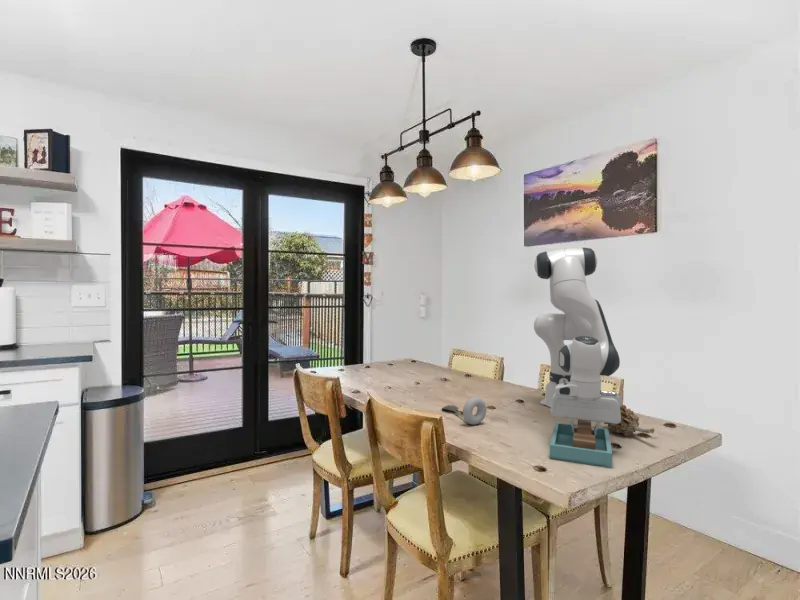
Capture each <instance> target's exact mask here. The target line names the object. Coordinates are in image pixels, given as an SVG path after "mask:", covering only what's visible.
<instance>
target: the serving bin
mask: <svg viewBox="0 0 800 600" xmlns="http://www.w3.org/2000/svg"><path fill="white" fill-rule="evenodd" d="M574 425H575V426H577V424H574ZM591 428H595V426H591ZM573 434H574V433H572V426H571V425H570V423H565V422H558V421H555V422H554V426H553V431H552V435H551V437H550V438H551V439H550V443H549V459H550V460H557V461H563V462H569V463H577V464H584V465H591V466H595V467H596V466H597V467H602V466H604V467H603V468H609V467H612V468H613V450H612V444H611V438H610V431H609V428H608V427H607V428H606V427H599V428H598V429H597V430H596V436H595V435H594V436H595V450H592V449H585V448H578V447H573Z"/></svg>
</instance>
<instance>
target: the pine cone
mask: <svg viewBox="0 0 800 600" xmlns="http://www.w3.org/2000/svg"><path fill="white" fill-rule="evenodd" d="M620 413H621V421H620V422H619V423H618V424H615V423H606V422H603V424H604V425H607V429H609V430H611V431H613V430H614V433H618V434H622V435H623V436H626V437H629V436H630V435H633V434H634V433H635V432H639V433H645V434H654V432H655V431H656V430H655V428H654V427H651V428H642V427H639V425H640V422H639V421H640V418H639V416H638V415H637V414H635V411H633V410H631V408H627V406H626V405H625V404H623V403H622V406H621V407H620Z"/></svg>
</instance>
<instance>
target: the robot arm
mask: <svg viewBox="0 0 800 600" xmlns="http://www.w3.org/2000/svg"><path fill="white" fill-rule="evenodd" d="M597 267H598V258H597V254H596V253H595V251H594V250H593V249H592V248H590V247H582V248H579V247H578V248H577V247H576V248H575V247H572V248H571V247H570V248H564V249H562V248H561V249H556V250H550V251H543V252H540V253H538V254H537V255H536V257H535V260H534V267H533V268H534V270H535V273H536V274H537V277H539V278H540V279H542V280H549V295H550V297H549V298H550V304H552V306H553V307H554V308H555V309H558V310H559V311H561V312H562V313H551V312H550V313H544V314H543V313H542V314H539V315H538V316H537V317H536V318H535V320H534V322H533V330H534V333H535V334H536V335H537V337H539V338H540V339H541V340H542V341H543V342H544V343H545V345H546V346H547V349H548V350H549V357H550V371H549V375H548V376H549V382H548V383H547V384H545V390H544V391H545V393H544V394H545V395H544V398H543V399H542V400H540V402H539V404H540V405H543V406H546V407H549V408H550V409H549V410H550V415H551V416H552V417H554V418H555V417H557V418H563V419H564V418H565V419H568V424H570V425H571V426H572V433H577V426H575V425H576V424H575V423H574V421H575V420H578V419H580V420H589V421H591V422H595V423H594V424H595V426H594V427H595V428H592V429H591V435H595V436H596V430H597V429H598V428H601V423H604V422H606V423H615V424H618V423H619V422H620V421H621V413H620V407H621V406H622V404H623V397H622V396H621V394H619V393H618V392H616V391H606V390H605V391H604V390H602V379H601V376H603V377H605V376H606V377H610V376H612V375H614V373H615V372H616V371H618V369H619V368H620V364H621V360H620V355H619V353H618V350H617V349H616V346H615V343H614V341H613V339H612V335H611V333H610V329H609V326H608V323H607V319H606V317H605V314H604V311H603V309H602V306H601V304H600V302H599V301H598V300H597V299H596V298H594V297H593V296H592V295H591V293H590V292H589V290H588V287H587V280H586V277H587V276H590V275H593V274H594V273H595V272H596V269H597ZM565 341H572V343H569V344H565Z"/></svg>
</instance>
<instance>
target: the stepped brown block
mask: <svg viewBox="0 0 800 600" xmlns="http://www.w3.org/2000/svg"><path fill="white" fill-rule="evenodd" d="M576 423H577V424H576V425H577V433H574V434H573V447H578V448H585V449H592V450H595V436H594V435H591V429H592V428H591V427H592V421H589V420H580V419H577V422H576Z"/></svg>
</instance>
